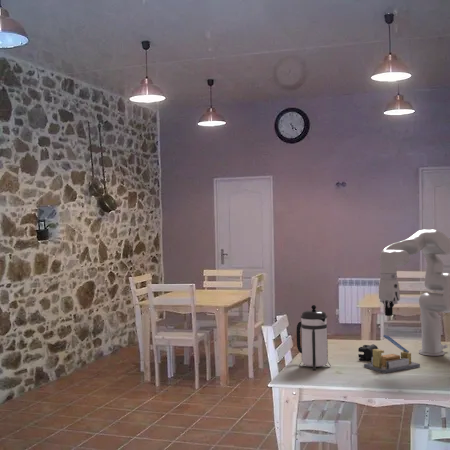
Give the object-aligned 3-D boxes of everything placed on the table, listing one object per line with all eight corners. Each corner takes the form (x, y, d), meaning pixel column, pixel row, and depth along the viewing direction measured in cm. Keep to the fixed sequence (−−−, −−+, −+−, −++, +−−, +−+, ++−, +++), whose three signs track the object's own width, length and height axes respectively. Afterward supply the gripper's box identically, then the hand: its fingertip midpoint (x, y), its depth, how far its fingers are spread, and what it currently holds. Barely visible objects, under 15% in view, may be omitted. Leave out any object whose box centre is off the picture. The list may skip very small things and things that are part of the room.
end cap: (371, 362, 308) (371, 348, 308) (358, 360, 312) (357, 347, 312) (378, 357, 317) (378, 344, 317) (365, 356, 321) (365, 343, 321)
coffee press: (332, 363, 307) (331, 302, 306) (328, 371, 291) (327, 307, 291) (297, 362, 311) (296, 302, 311) (292, 369, 296) (290, 306, 295)
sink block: (398, 361, 308) (398, 342, 308) (419, 367, 296) (419, 347, 296) (364, 367, 298) (363, 348, 298) (384, 373, 286) (383, 353, 285)
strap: (403, 352, 302) (404, 350, 303) (408, 353, 300) (409, 351, 300) (383, 336, 296) (384, 334, 296) (387, 337, 294) (388, 335, 294)
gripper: (405, 277, 291) (406, 317, 291) (383, 275, 304) (384, 313, 304) (393, 278, 287) (393, 318, 287) (371, 276, 301) (372, 314, 301)
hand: (388, 315), depth 296 cm, fingers closed
